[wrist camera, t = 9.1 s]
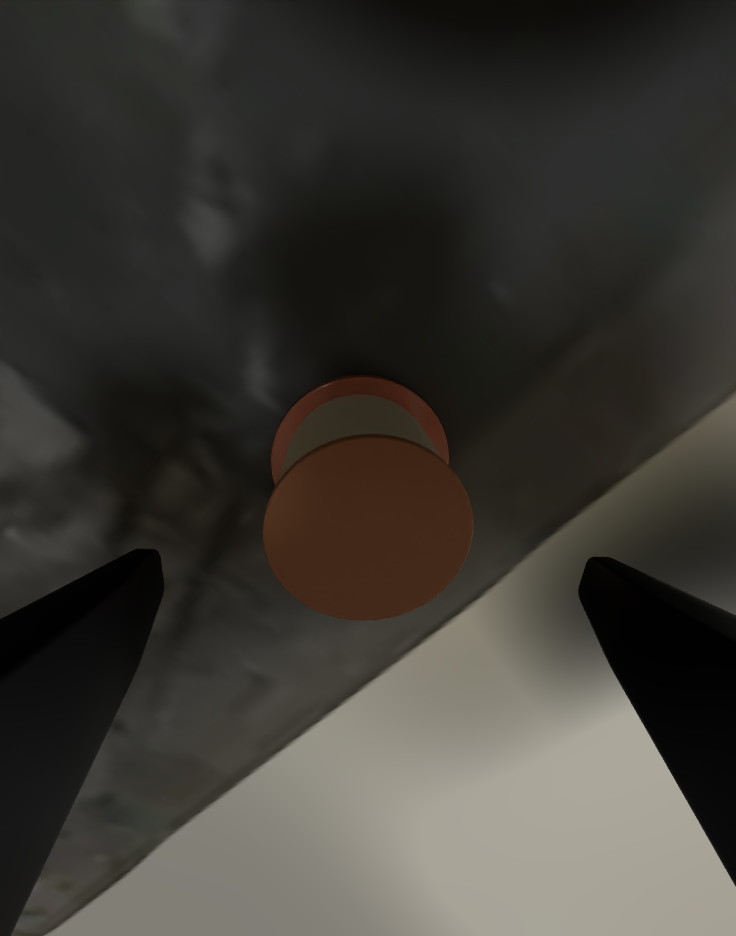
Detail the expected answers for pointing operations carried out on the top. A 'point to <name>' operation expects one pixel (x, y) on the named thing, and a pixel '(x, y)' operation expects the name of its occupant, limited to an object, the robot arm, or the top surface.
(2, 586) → the top surface
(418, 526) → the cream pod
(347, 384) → the coaster
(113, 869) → the top surface
